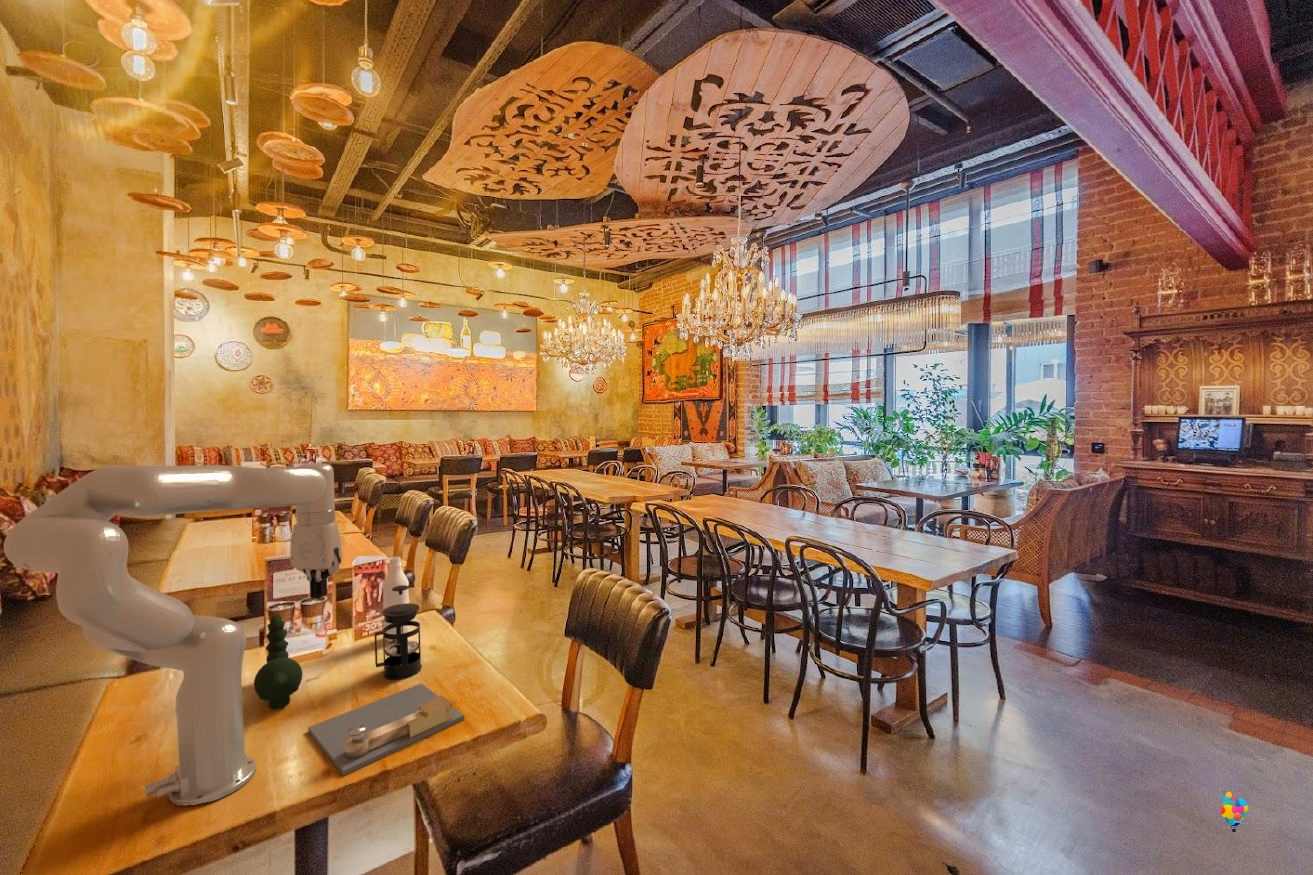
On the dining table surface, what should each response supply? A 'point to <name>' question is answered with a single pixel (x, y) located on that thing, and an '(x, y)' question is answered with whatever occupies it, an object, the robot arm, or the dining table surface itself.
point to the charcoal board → (375, 727)
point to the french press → (400, 640)
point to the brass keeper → (430, 716)
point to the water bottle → (393, 597)
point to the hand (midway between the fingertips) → (319, 596)
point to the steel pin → (357, 732)
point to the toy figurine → (277, 669)
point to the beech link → (379, 736)
